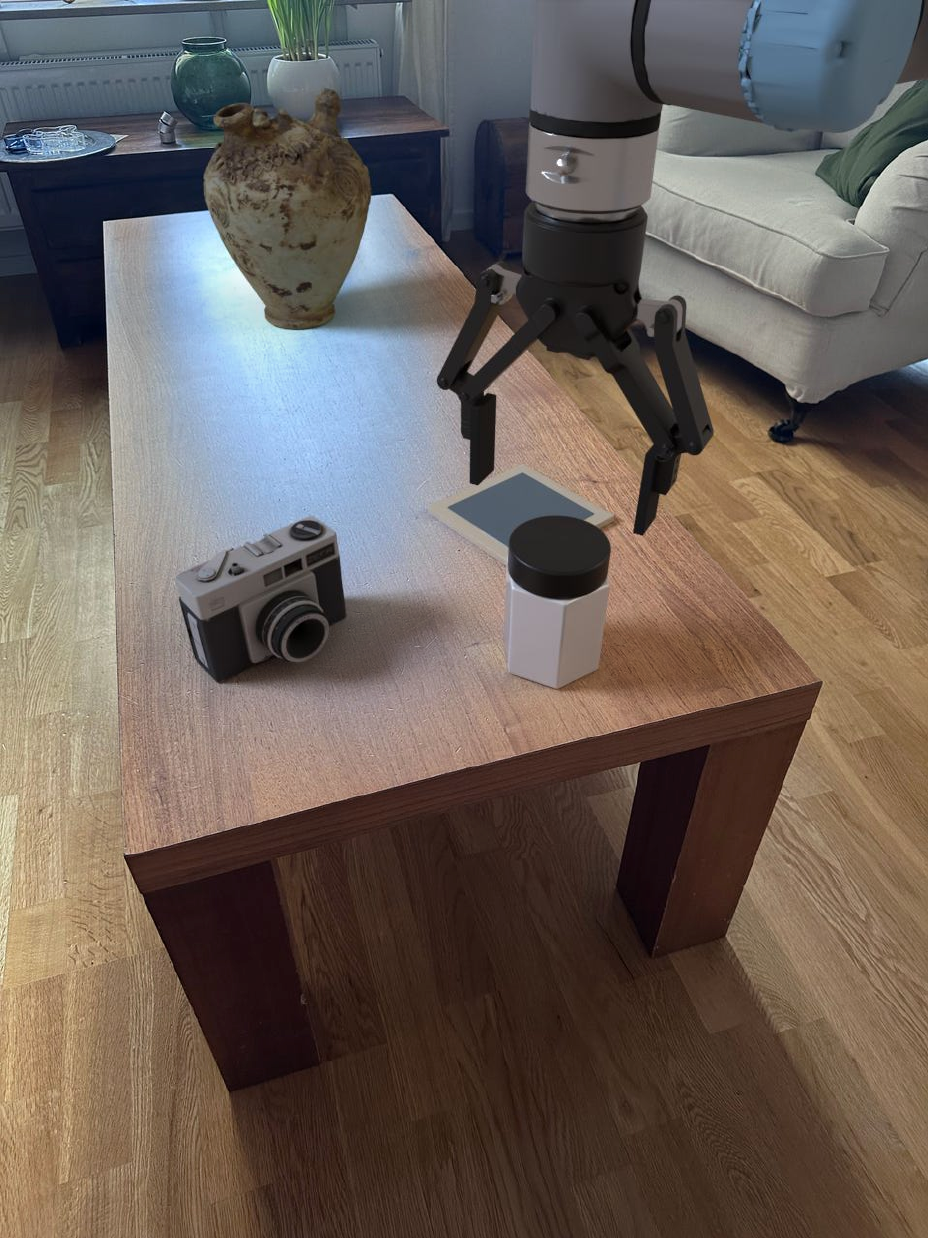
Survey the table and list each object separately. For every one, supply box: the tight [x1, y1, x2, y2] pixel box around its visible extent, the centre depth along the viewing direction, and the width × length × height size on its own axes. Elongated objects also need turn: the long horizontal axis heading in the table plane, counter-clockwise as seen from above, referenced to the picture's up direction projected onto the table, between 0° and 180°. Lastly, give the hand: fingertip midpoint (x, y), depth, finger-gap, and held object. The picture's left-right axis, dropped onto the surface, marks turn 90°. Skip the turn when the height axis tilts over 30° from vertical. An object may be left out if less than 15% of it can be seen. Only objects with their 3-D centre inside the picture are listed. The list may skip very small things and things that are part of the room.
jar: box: [502, 515, 612, 690], centre depth 74 cm, size 9×8×12 cm
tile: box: [427, 463, 615, 567], centre depth 94 cm, size 14×14×1 cm
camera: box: [174, 515, 347, 684], centre depth 75 cm, size 14×9×10 cm, turn 124°
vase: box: [202, 87, 372, 330], centre depth 126 cm, size 23×23×30 cm
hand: (560, 500), depth 67 cm, fingers open, 13 cm apart
